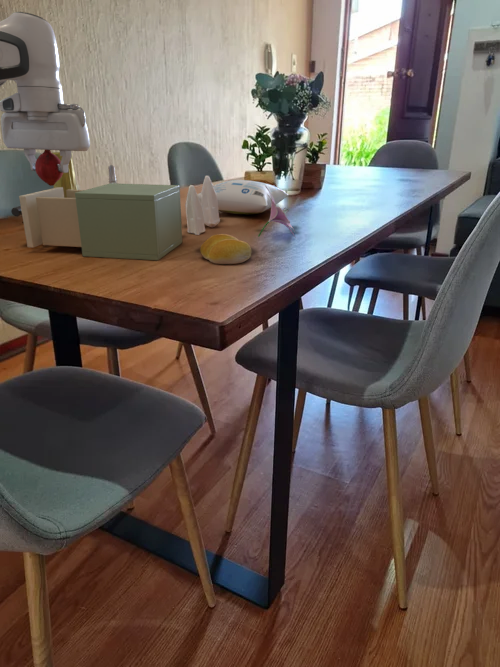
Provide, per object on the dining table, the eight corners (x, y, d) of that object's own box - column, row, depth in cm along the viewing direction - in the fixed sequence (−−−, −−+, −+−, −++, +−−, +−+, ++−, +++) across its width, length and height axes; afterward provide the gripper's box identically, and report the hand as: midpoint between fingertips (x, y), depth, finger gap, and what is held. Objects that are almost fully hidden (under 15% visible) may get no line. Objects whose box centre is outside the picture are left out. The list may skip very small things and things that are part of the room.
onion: (62, 187, 112) (58, 148, 109) (35, 187, 111) (30, 147, 108) (66, 184, 117) (63, 147, 114) (40, 184, 116) (35, 147, 113)
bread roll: (219, 268, 82) (218, 243, 80) (194, 256, 89) (193, 233, 87) (261, 261, 86) (262, 237, 85) (235, 250, 93) (234, 228, 92)
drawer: (5, 246, 91) (-4, 195, 88) (44, 232, 102) (37, 186, 99) (93, 250, 88) (87, 198, 85) (122, 235, 100) (118, 189, 96)
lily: (280, 251, 97) (306, 206, 95) (231, 221, 100) (254, 177, 98) (295, 256, 108) (318, 216, 106) (250, 229, 111) (271, 190, 109)
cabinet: (82, 256, 88) (74, 192, 84) (115, 239, 101) (110, 183, 97) (158, 260, 86) (153, 195, 82) (182, 242, 99) (179, 185, 94)
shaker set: (208, 223, 117) (207, 173, 112) (224, 225, 115) (224, 174, 111) (181, 233, 106) (178, 178, 102) (198, 235, 105) (196, 179, 101)
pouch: (266, 187, 116) (288, 175, 134) (190, 186, 122) (220, 175, 139) (267, 222, 120) (288, 206, 137) (193, 219, 125) (222, 204, 143)
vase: (66, 214, 127) (58, 153, 122) (50, 211, 130) (42, 152, 125) (85, 210, 132) (78, 152, 126) (70, 208, 135) (62, 151, 129)
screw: (131, 223, 116) (122, 227, 112) (111, 222, 117) (102, 226, 113) (126, 163, 111) (116, 165, 107) (105, 163, 112) (95, 165, 108)
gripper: (92, 104, 107) (98, 173, 112) (13, 103, 113) (22, 169, 118) (74, 103, 102) (80, 175, 107) (-8, 102, 108) (2, 170, 113)
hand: (49, 171), depth 113 cm, fingers closed on onion, 6 cm apart
